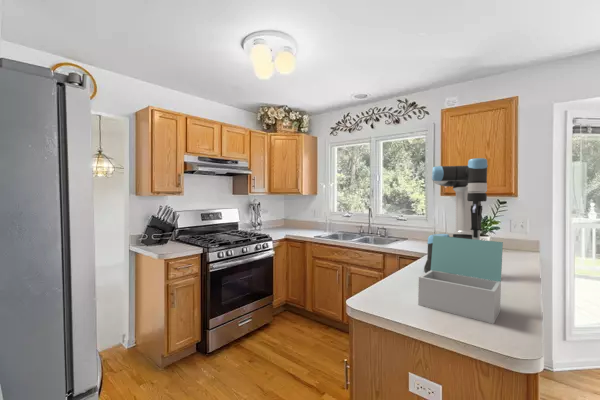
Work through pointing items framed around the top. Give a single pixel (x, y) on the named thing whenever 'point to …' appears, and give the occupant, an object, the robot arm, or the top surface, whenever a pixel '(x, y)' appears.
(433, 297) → the gray storage box
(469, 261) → the cover
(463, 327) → the top surface
